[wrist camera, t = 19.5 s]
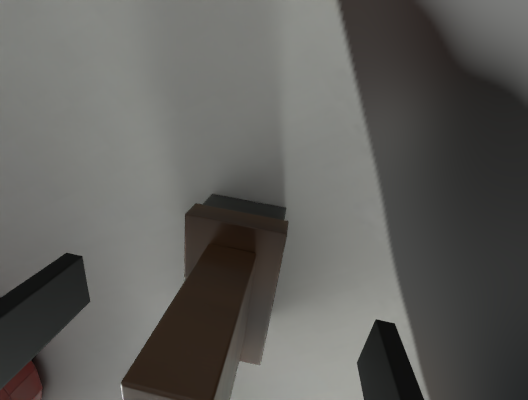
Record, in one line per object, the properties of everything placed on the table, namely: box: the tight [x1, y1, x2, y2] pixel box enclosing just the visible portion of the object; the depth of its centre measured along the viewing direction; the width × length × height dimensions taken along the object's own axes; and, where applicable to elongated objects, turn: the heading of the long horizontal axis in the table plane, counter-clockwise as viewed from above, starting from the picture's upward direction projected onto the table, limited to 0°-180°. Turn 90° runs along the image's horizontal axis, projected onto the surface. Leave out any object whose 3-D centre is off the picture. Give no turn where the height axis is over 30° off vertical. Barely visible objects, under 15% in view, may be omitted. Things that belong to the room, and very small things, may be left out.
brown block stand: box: [121, 194, 288, 400], centre depth 11 cm, size 8×4×9 cm, turn 172°
